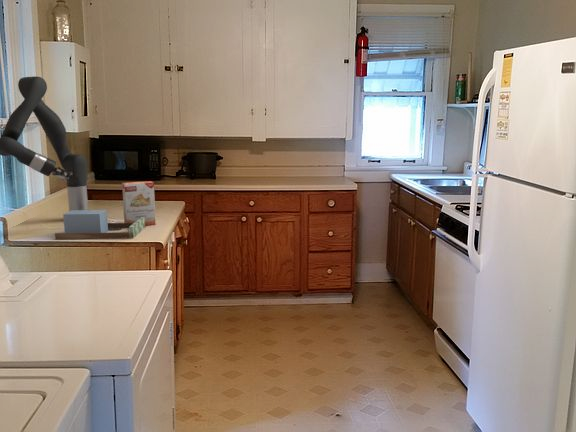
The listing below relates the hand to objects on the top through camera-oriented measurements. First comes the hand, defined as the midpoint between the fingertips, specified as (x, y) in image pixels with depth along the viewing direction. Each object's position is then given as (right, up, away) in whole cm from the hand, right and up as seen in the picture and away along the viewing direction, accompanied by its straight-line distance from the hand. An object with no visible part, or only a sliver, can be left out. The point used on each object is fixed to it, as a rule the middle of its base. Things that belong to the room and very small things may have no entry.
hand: (76, 181), depth 257 cm
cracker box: (+26, -21, +11) cm, 35 cm away
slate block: (+7, -24, -6) cm, 26 cm away
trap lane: (+14, -24, -6) cm, 28 cm away
